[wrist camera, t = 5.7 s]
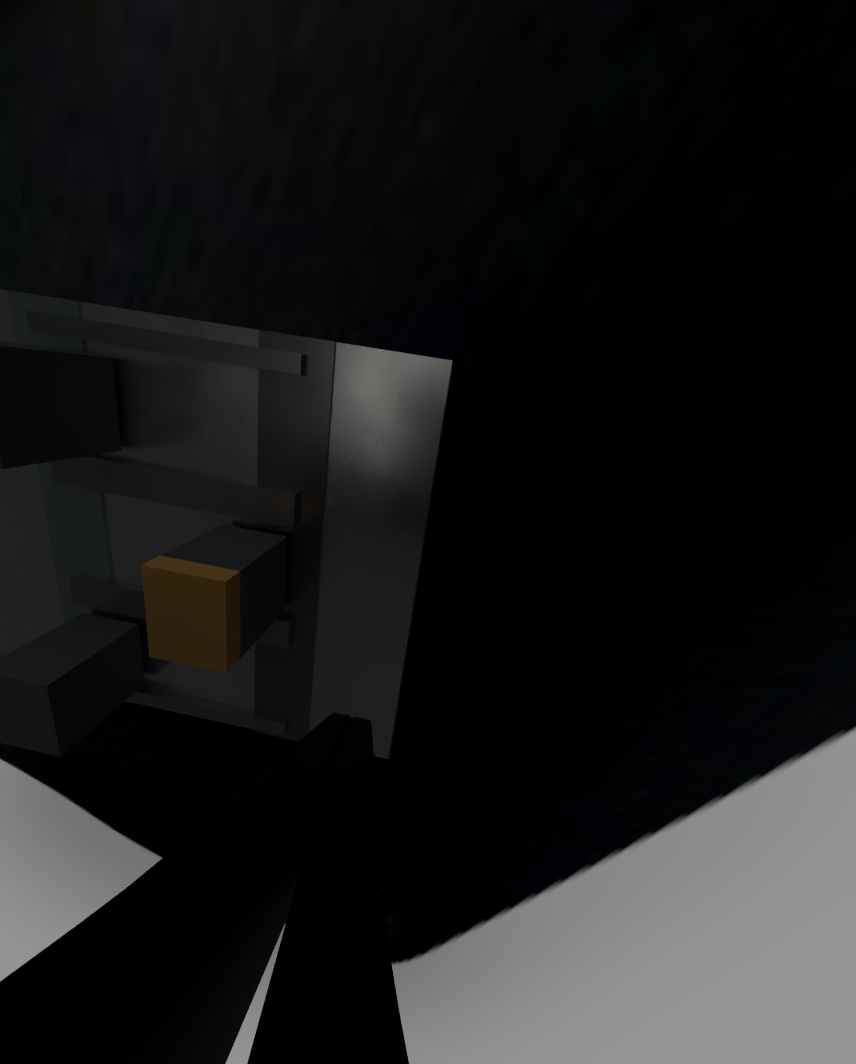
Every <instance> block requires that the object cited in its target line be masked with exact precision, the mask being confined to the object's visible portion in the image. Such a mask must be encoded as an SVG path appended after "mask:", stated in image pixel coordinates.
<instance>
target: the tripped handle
mask: <svg viewBox="0 0 856 1064" xmlns="http://www.w3.org/2000/svg"><path fill="white" fill-rule="evenodd" d="M286 557H287V536H282V535H277V534H272V533H266V532H261V531H256V530H251V529H245V528H240V527H235V526H230V525H224V524H222V525H220V526H218V527H216V528H214V529H212V530H210V531H208V532H206V533H204V534H202V535H200V536H198V537H196V538H194V539H192V540H190V541H188V542H186V543H184V544H182V545H180V546H178V547H176V548H174V549H172V550H170V551H168V552H166V553H164V554H162V555H160V556H158V557H156V558H154V559H152V560H150V561H148V562H146V563H144V564H142V565H141V569H142V580H143V591H144V601H145V612H146V623H147V634H148V645H149V656H150V657H152V658H157V659H161V660H166V661H171V662H175V663H180V664H185V665H189V666H194V667H199V668H203V669H208V670H213V671H217V672H222V673H228V672H229V671H230V670H231V669H232V668H233V666H234V665H235V664H236V663H237V662H238V661H239V660H240V659H241V658H242V656H243V655H244V654H245V653H246V652H247V651H248V650H249V649H250V648H251V647H252V645H253V644H254V643H255V642H256V641H257V640H258V639H259V638H260V637H261V636H262V634H263V633H264V632H265V631H266V630H267V629H268V628H269V627H270V626H271V624H272V623H273V622H274V621H275V620H276V619H277V618H278V617H279V616H280V615H281V613H282V612H283V611H284V608H285V582H286Z"/></svg>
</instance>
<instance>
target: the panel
mask: <svg viewBox="0 0 856 1064" xmlns="http://www.w3.org/2000/svg"><path fill="white" fill-rule="evenodd" d="M0 341H3V342H12V343H20V344H29V345H38V346H46V347H52V348H58V349H64V350H70V351H76V352H82V353H88V354H94V355H100V356H106V357H112V361H113V371H114V381H115V391H116V401H117V411H118V421H119V431H120V441H121V451H117V452H111V453H104V454H98V455H91V456H85V457H78V458H72V459H65V460H59V461H52V462H46V463H39V464H33V465H26V466H20V467H13V468H7V469H0V655H1V658H2V657H3V656H5V655H7V654H9V653H11V652H13V651H14V650H16V649H18V648H20V647H22V646H24V645H25V644H27V643H29V642H31V641H33V640H34V639H36V638H38V637H40V636H42V635H44V634H45V633H47V632H49V631H51V630H53V629H55V628H56V627H58V626H60V625H62V624H64V623H65V622H67V621H69V620H71V619H73V618H75V617H76V616H78V615H80V614H82V613H88V614H92V615H97V616H102V617H107V618H112V619H116V620H121V621H126V622H131V623H135V624H139V631H140V641H141V651H142V661H143V671H144V681H145V685H143V686H142V687H141V688H140V689H139V690H138V691H136V692H135V693H134V694H133V695H132V696H131V697H129V698H128V699H127V700H126V701H125V702H124V703H126V702H127V701H129V702H133V703H138V704H142V705H147V706H151V707H156V708H160V709H165V710H169V711H174V712H178V713H183V714H187V715H192V716H196V717H201V718H205V719H210V720H214V721H219V722H223V723H228V724H232V725H237V726H241V727H246V728H250V729H254V731H255V732H259V733H264V734H268V735H273V736H277V737H282V738H286V739H291V740H295V741H300V740H301V739H302V738H303V737H305V736H306V735H307V734H308V733H309V732H310V731H312V730H313V729H314V728H315V727H316V726H317V725H319V724H320V723H321V722H322V721H323V720H324V719H326V718H327V717H328V716H329V715H330V714H332V713H334V712H337V713H341V714H346V715H350V716H351V718H353V717H360V718H364V719H368V720H370V721H371V725H372V738H373V751H374V756H376V757H381V758H385V759H389V755H390V751H391V747H392V743H393V739H394V732H395V726H396V720H397V714H398V708H399V702H400V695H401V689H402V683H403V677H404V671H405V664H406V658H407V652H408V646H409V640H410V634H411V627H412V621H413V615H414V609H415V603H416V597H417V590H418V584H419V578H420V572H421V566H422V560H423V553H424V547H425V541H426V535H427V529H428V523H429V516H430V510H431V504H432V498H433V492H434V485H435V479H436V473H437V467H438V461H439V455H440V448H441V442H442V436H443V430H444V424H445V418H446V411H447V405H448V399H449V393H450V387H451V381H452V374H453V368H454V362H453V361H451V360H445V359H439V358H432V357H426V356H420V355H413V354H407V353H401V352H394V351H388V350H382V349H375V348H369V347H363V346H356V345H350V344H344V343H337V342H333V341H326V340H320V339H314V338H307V337H301V336H295V335H288V334H282V333H276V332H269V331H263V330H255V329H249V328H243V327H236V326H230V325H224V324H217V323H211V322H205V321H198V320H192V319H186V318H179V317H173V316H167V315H160V314H154V313H148V312H141V311H135V310H129V309H122V308H116V307H110V306H103V305H97V304H91V303H84V302H79V301H73V300H67V299H61V298H54V297H48V296H42V295H35V294H29V293H23V292H16V291H10V290H2V289H0ZM222 524H224V525H230V526H235V527H240V528H245V529H251V530H256V531H261V532H266V533H272V534H277V535H282V536H287V557H286V582H285V608H284V611H283V612H282V613H281V615H280V616H279V617H278V618H277V619H276V620H275V621H274V622H273V623H272V624H271V626H270V627H269V628H268V629H267V630H266V631H265V632H264V633H263V634H262V636H261V637H260V638H259V639H258V640H257V641H256V642H255V643H254V644H253V645H252V647H251V648H250V649H249V650H248V651H247V652H246V653H245V654H244V655H243V656H242V658H241V659H240V660H239V661H238V662H237V663H236V664H235V665H234V666H233V668H232V669H231V670H230V671H229V672H228V673H222V672H217V671H213V670H208V669H203V668H199V667H194V666H189V665H185V664H180V663H175V662H171V661H166V660H161V659H157V658H152V657H150V656H149V645H148V634H147V623H146V612H145V601H144V591H143V580H142V569H141V565H142V564H144V563H146V562H148V561H150V560H152V559H154V558H156V557H158V556H160V555H162V554H164V553H166V552H168V551H170V550H172V549H174V548H176V547H178V546H180V545H182V544H184V543H186V542H188V541H190V540H192V539H194V538H196V537H198V536H200V535H202V534H204V533H206V532H208V531H210V530H212V529H214V528H216V527H218V526H220V525H222Z"/></svg>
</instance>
